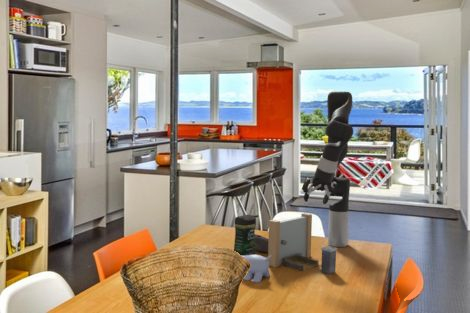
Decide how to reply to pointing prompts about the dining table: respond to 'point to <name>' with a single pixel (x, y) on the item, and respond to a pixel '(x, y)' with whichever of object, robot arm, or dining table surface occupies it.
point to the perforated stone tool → (261, 243)
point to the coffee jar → (245, 235)
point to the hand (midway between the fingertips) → (314, 202)
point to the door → (289, 238)
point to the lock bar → (328, 260)
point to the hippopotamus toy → (257, 267)
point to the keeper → (299, 262)
